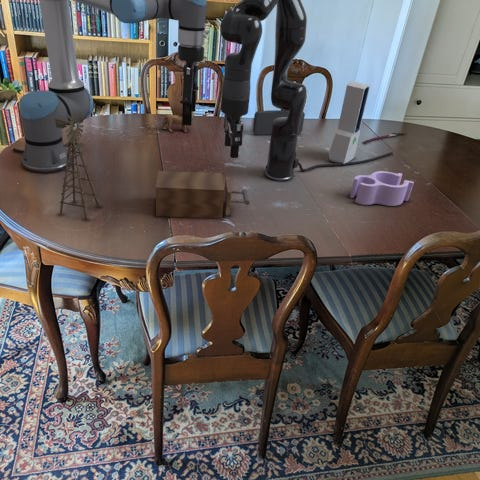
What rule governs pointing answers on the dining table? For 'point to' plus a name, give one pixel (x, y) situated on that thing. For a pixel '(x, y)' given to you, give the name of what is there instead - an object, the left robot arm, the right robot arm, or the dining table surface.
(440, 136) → the dining table surface
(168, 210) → the cabinet
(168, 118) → the lion figurine
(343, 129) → the electronic device
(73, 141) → the miniature windmill
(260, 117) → the handheld gaming console
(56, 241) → the dining table surface
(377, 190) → the clip
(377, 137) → the sword
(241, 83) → the right robot arm
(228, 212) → the drawer
